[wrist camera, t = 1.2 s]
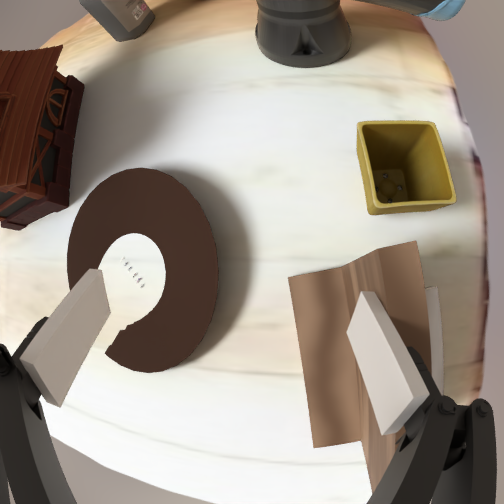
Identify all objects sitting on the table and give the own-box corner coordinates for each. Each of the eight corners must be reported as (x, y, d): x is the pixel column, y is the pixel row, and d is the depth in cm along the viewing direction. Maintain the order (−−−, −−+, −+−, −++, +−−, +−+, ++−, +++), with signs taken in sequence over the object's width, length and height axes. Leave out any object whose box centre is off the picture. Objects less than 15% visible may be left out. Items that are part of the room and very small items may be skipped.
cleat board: (411, 252, 30) (514, 217, 10) (424, 418, 27) (487, 510, 7) (288, 277, 33) (248, 274, 13) (313, 443, 30) (300, 561, 10)
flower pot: (412, 154, 30) (435, 120, 22) (426, 221, 29) (458, 202, 21) (348, 158, 32) (355, 120, 24) (359, 227, 31) (374, 208, 23)
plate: (52, 271, 42) (37, 270, 38) (143, 142, 39) (130, 132, 36) (141, 404, 35) (127, 412, 32) (276, 271, 33) (271, 271, 30)
